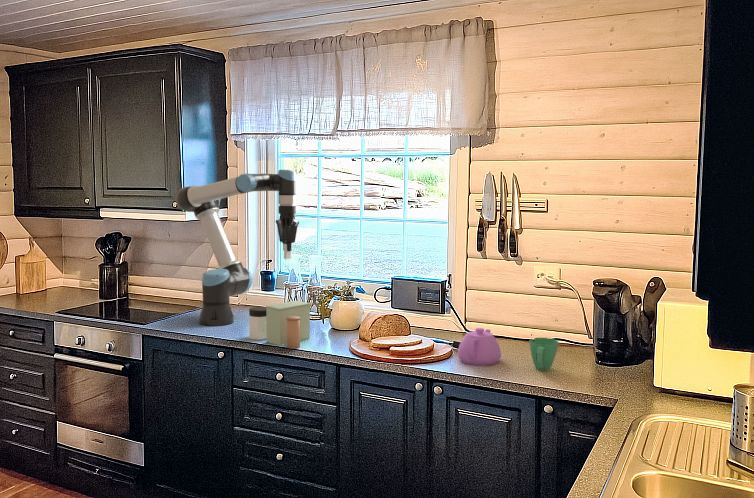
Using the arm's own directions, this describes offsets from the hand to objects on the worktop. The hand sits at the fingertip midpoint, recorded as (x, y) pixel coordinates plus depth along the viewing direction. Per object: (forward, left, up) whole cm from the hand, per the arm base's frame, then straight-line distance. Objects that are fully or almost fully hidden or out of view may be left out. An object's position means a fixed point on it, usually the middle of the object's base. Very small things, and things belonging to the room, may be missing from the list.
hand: (287, 258), depth 306 cm
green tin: (+23, -20, -30) cm, 42 cm away
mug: (+119, +11, -30) cm, 123 cm away
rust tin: (+32, -26, -29) cm, 51 cm away
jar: (+11, -25, -30) cm, 40 cm away
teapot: (+96, +7, -30) cm, 101 cm away
